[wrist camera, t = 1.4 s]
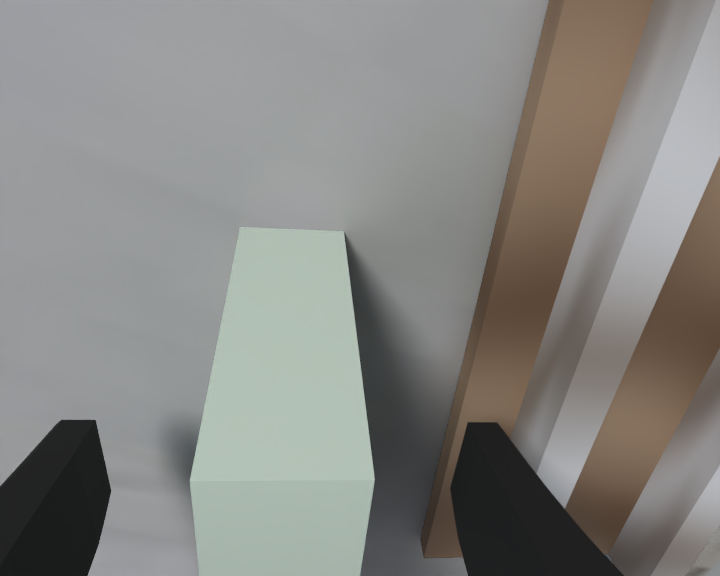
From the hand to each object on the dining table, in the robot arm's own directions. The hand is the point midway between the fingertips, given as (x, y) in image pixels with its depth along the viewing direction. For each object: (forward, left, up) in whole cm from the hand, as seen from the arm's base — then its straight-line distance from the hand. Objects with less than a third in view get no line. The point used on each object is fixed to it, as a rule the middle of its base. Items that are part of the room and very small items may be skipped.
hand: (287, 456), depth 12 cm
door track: (+2, -8, -2) cm, 9 cm away
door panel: (0, 0, -2) cm, 2 cm away
